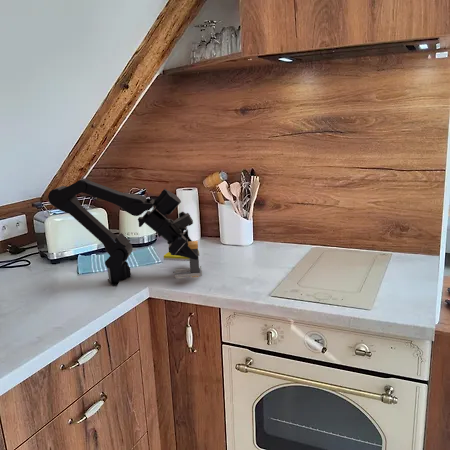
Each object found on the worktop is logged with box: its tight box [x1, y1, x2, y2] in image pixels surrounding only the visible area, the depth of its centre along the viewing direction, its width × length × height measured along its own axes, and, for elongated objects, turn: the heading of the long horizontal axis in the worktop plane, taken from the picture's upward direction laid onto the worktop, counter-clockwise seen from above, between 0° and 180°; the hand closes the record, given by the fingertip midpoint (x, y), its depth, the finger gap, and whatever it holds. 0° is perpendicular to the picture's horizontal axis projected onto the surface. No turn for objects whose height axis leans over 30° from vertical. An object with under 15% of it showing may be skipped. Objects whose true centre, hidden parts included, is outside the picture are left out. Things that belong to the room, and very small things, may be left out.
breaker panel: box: [172, 265, 203, 279], centre depth 156 cm, size 10×7×3 cm, turn 94°
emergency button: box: [163, 249, 200, 262], centre depth 175 cm, size 9×4×15 cm
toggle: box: [188, 240, 201, 274], centre depth 155 cm, size 3×4×11 cm
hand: (197, 254), depth 154 cm, fingers open, 9 cm apart
